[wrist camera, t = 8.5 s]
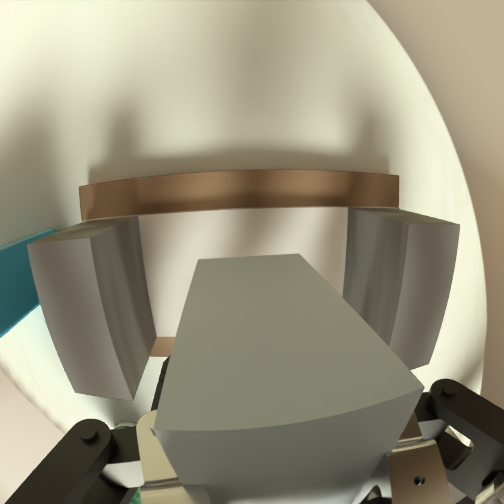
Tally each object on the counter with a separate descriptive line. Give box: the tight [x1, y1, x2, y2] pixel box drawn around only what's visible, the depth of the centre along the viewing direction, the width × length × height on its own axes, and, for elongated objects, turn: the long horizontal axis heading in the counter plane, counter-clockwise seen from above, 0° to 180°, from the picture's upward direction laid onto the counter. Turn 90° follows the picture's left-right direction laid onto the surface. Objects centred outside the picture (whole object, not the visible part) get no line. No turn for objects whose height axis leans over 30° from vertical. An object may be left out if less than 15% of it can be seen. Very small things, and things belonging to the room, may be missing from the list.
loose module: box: [153, 253, 424, 504], centre depth 8 cm, size 4×7×8 cm, turn 2°
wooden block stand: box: [27, 170, 460, 401], centre depth 16 cm, size 24×14×9 cm, turn 91°
